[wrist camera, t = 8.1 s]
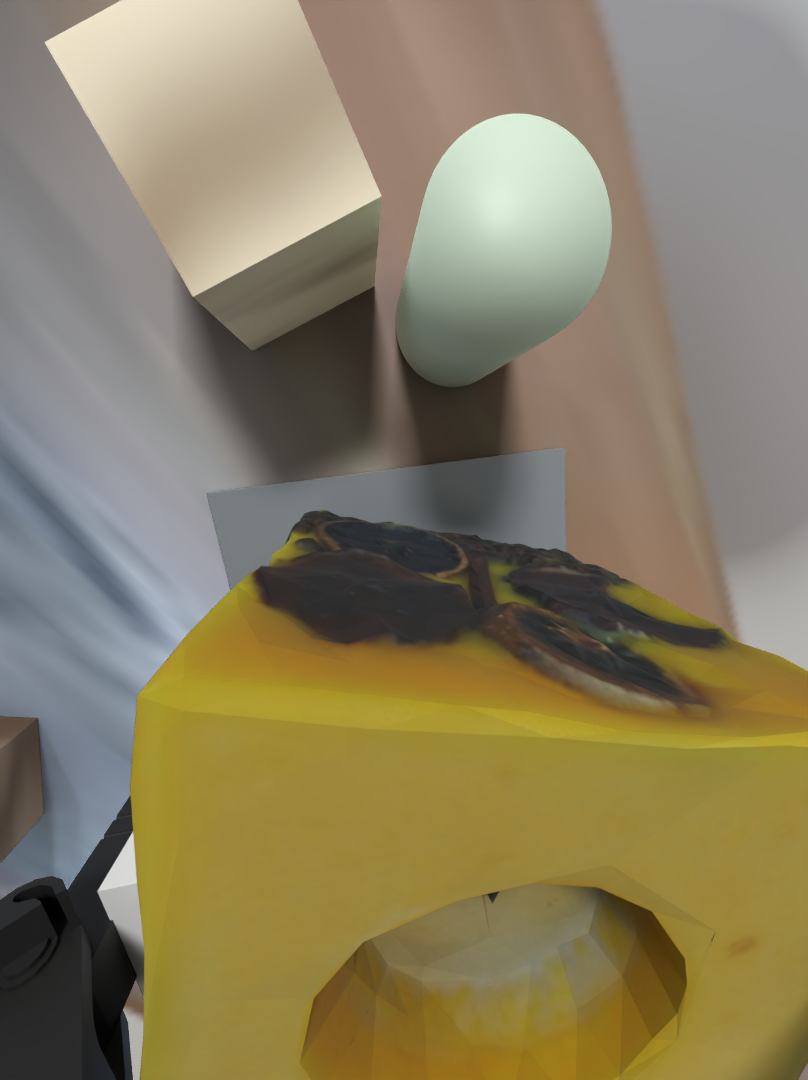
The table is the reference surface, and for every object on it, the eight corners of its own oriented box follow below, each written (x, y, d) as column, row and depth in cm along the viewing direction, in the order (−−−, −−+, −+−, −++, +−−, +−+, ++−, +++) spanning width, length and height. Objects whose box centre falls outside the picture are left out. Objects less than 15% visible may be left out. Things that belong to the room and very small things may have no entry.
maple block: (168, 202, 12) (44, 42, 7) (302, 130, 12) (264, -79, 7) (252, 351, 14) (192, 296, 9) (374, 286, 14) (381, 196, 9)
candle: (510, 770, 16) (728, 1236, 7) (271, 756, 15) (103, 1335, 5) (573, 546, 14) (1035, 755, 4) (301, 504, 13) (108, 681, 3)
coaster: (212, 491, 14) (206, 493, 14) (557, 447, 16) (565, 447, 15) (283, 782, 18) (281, 793, 17) (562, 729, 19) (568, 737, 18)
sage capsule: (388, 263, 13) (408, 119, 8) (506, 253, 14) (613, 108, 8) (402, 393, 14) (430, 354, 9) (512, 381, 15) (609, 336, 9)
